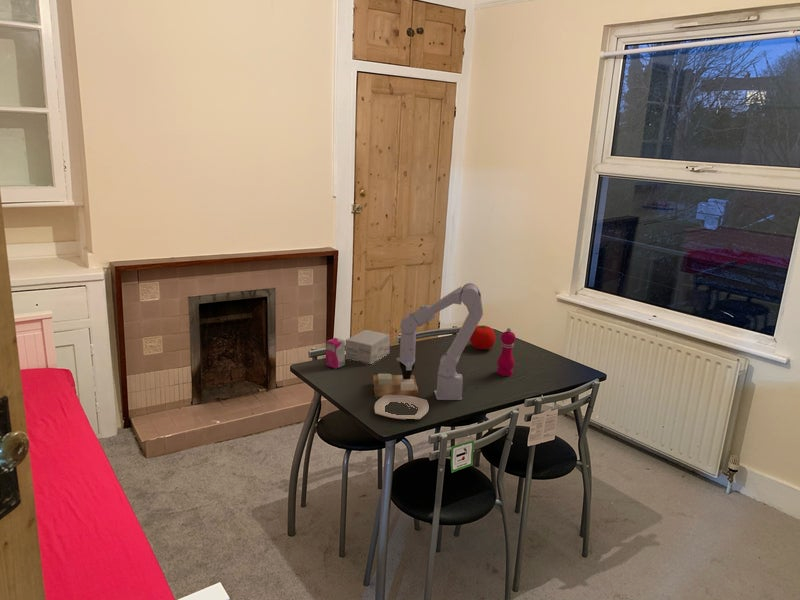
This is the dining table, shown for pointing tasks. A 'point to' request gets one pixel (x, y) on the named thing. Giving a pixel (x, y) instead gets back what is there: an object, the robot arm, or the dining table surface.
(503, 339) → the pepper mill
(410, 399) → the pale beige plate
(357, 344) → the supplement box
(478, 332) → the tomato
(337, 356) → the supplement box
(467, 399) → the dining table surface
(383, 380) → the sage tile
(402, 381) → the white tile
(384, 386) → the oak board
